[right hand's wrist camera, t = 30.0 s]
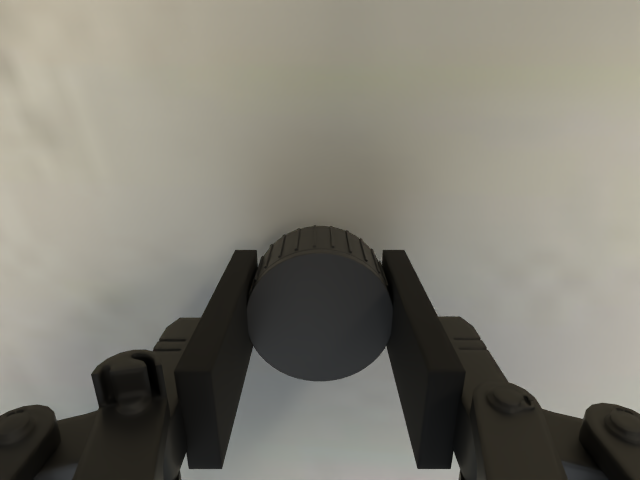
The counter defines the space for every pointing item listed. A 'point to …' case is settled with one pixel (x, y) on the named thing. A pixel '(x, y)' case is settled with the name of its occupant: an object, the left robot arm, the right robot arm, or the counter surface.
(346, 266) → the cap
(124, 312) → the counter surface
